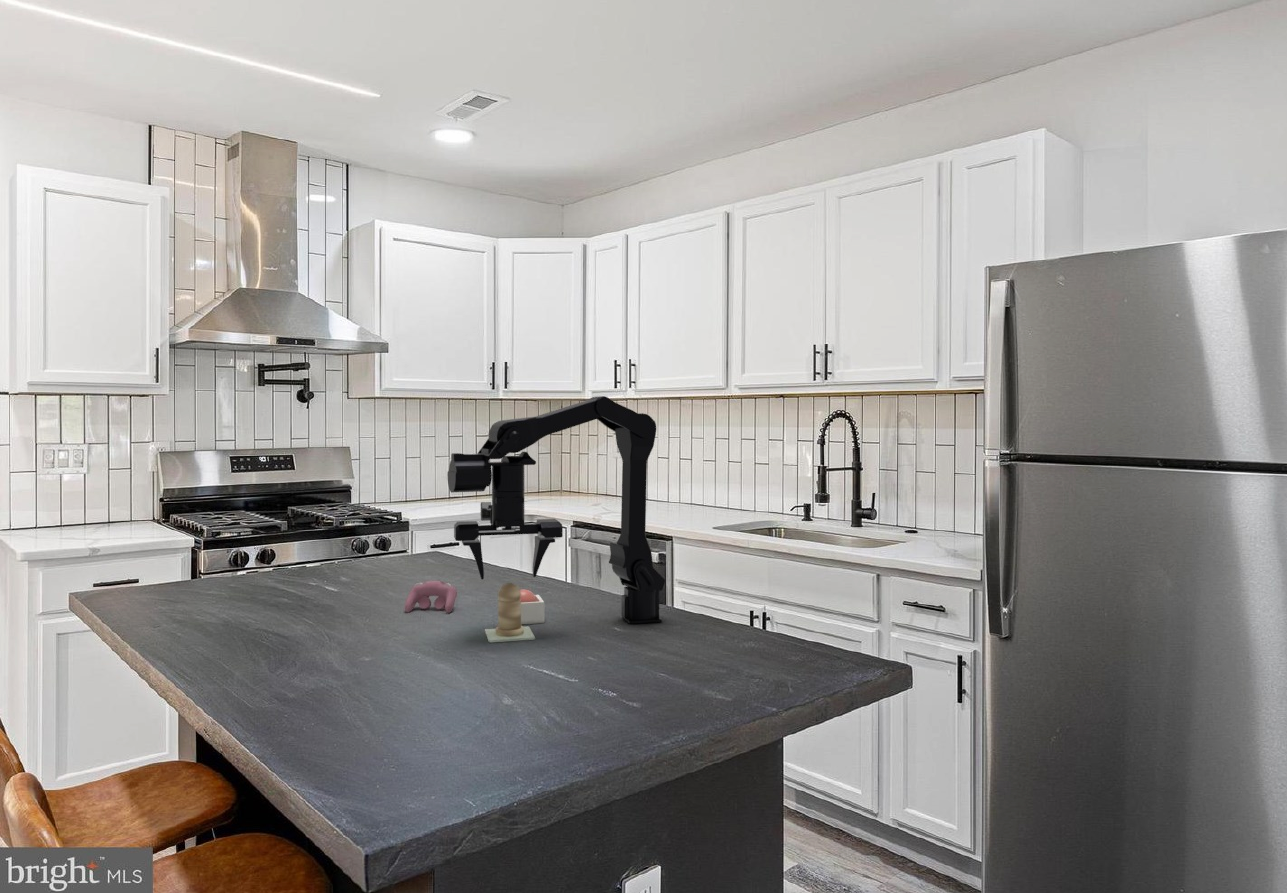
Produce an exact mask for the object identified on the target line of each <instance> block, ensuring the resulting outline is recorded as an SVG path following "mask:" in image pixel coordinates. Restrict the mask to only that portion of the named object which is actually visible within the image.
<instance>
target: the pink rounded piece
mask: <svg viewBox="0 0 1287 893" xmlns="http://www.w3.org/2000/svg"><path fill="white" fill-rule="evenodd" d="M520 592H521V596H520V599H521V603H523V602H536V598H535V596H534V595H535V594H534V593H533V592H532V591H530V590H528V589H524V588H523V589H520Z"/></svg>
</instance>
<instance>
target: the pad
mask: <svg viewBox="0 0 1287 893" xmlns="http://www.w3.org/2000/svg"><path fill="white" fill-rule="evenodd" d="M523 627H524V633H523V634H522V635H519V636H513V637H502V636H498V635H496V634H495V628H486V629H484V633H485V636H486V637H487V641H488V643H502V642H505V643H506V642H518V641H530V640H532V641H533V640H536V637H535V635H534V633H533V631H532V630H531V628H530V626H523Z"/></svg>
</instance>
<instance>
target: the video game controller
mask: <svg viewBox="0 0 1287 893" xmlns="http://www.w3.org/2000/svg"><path fill="white" fill-rule="evenodd" d="M457 596H458V591H457V589H456V588H455V587H454V586H453V585H452V584H450V583H448V582H444V581H440V580H427V581H424V582H416V583H415V585H414V586H412V587H411V588H410V590H409V593H408V596H407V598H406V601H405V603H404V611H405V612H406V613H410V612H411V611H412V610H413V609H414V608H415V606H416V605H417V603H418V605H419V608H420V609H422V610H429V609H430V608H431V607H432V601H431V599H430V597H437V598H435V600H434V602H433V606H434V608H435V609H437V610H438V611H443V610H444V609H445V613H447V614H450V613H451V612H452V611H453V609H454V607H455V603H456V599H457Z"/></svg>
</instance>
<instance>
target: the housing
mask: <svg viewBox="0 0 1287 893" xmlns="http://www.w3.org/2000/svg"><path fill="white" fill-rule="evenodd" d="M534 596H535V598H536V602H523V603H521V625H532V624H534V625H535V624H545V601H544V600H543V598H542V597H541V595H539V594H534Z"/></svg>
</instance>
